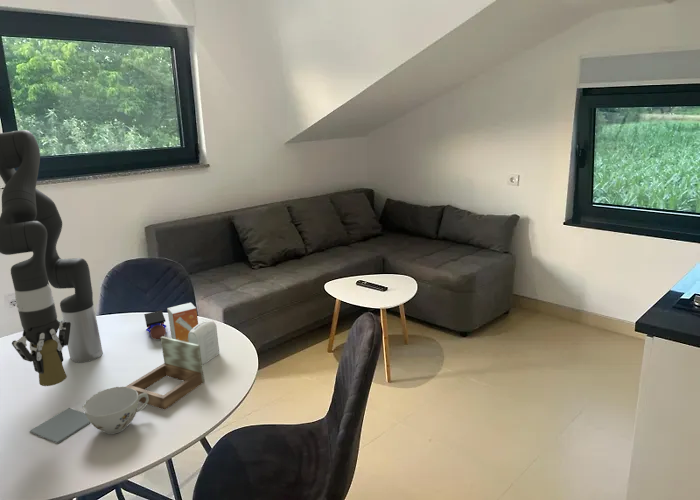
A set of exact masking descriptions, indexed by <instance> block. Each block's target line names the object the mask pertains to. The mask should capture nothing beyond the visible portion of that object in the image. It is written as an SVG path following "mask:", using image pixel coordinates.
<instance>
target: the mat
mask: <svg viewBox="0 0 700 500" xmlns="http://www.w3.org/2000/svg"><path fill="white" fill-rule="evenodd" d="M90 424H91V422H90V421H89V420H88V418H87V416H86V414H85V412H84V411H83V412H82V411H81V410H80V411H79V410H77V409H74V408H73V407H72V408H71V407H68V408H65V410H62V411H61V412H59V413H57V414H56V415H55V416H53V417H51V418H49V419H47V420H45V421H44V422H42V423H41V424H39V425H37V426H35V427H33V428H31V429H29V433H31V434H33V435H36V436H37V437H41V438H43V439H45V440H49V441H50V442H53V443H55V444H59V443H61V442H62V441H64V440H66V439H67V438H69V437H71V436H72V435H74V434H75V433H77V432H78V431H80V430H82V429H83V428H85V427H86V426H88V425H90Z"/></svg>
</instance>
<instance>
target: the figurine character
mask: <svg viewBox="0 0 700 500" xmlns="http://www.w3.org/2000/svg"><path fill="white" fill-rule="evenodd" d="M143 315H144V320H145V325H146V329H145V331H146V332H148V333H149V334H150V337H151V338H152V339H153V340H161V338H160V337H162V336H164V337H166V332H167V330H166V328H167V325H166V324H165V322H166V317H165V316H164V312H163V310H162V309H161V310H156V311H153V312H148V313H143Z"/></svg>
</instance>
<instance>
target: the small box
mask: <svg viewBox="0 0 700 500" xmlns="http://www.w3.org/2000/svg"><path fill="white" fill-rule="evenodd" d="M197 311H198V309H197V307H196V306H195V305H194V304H193V303H192V302H186V303H183V304H179V305H174V306H171V307H167V315H168V322H169V330H170V331H169V332H170V336H171V337H170V338H172V339H176V340H181V341H185V342H189V340H188V334H189V332H190V331H191V330H192V329H193V328H194V327H195V326H196V325H198V324H199V319H198V312H197Z"/></svg>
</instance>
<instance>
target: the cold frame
mask: <svg viewBox="0 0 700 500" xmlns="http://www.w3.org/2000/svg"><path fill="white" fill-rule="evenodd" d="M160 338H161V339H160V345H161V351H162V355H163V363H162V364H161V365H159V366H158V367H155V368H154V369H152V370H151V371H149V372H147V373H146V374H143V376H141V377H139V378H138V379H136V380H134V381H133V382H131V383H129V384H126V386H125V387H127V388H132V389H134V390H136V391H137V393H138V395H140V394H142V393H147V394H148V397H149V401H148V403H147V405H148V406H152V407H154V408H157V409H161V410H164V411H166V410H167V409H169V408H170V407H172V406H173V405H174V404H176V403H177V402H178V401H180V400H181V399H183V398H184V397H185V396H187V395H188V394H190V393H191V392H192V391H194V390H195V389H197V388H198V387H200V386H202V384H204V383H205V377H204V369H203V365H202V360H201V353H200V345H197V344H193V343H189V342H185V341H181V340H176V339H172V338H171V337H169V336H168V337H167V336H162V337H160ZM166 377H168V378H172V379H175V380H178V381H182V382H181V383H180V384H178V385H176V386H175V387H173V388H172V389H170V390H169V391H168V392H166V393H164V394H160V393H157V392H154V391H151V390H147V389H148V388H150V387H151V386H153V385H154V384H156V383H157V382H159V381H160V380H162V379H164V378H166ZM145 402H146V398H145V397H142V398H141V399H140V400H139V403H142V404H144V403H145Z"/></svg>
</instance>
